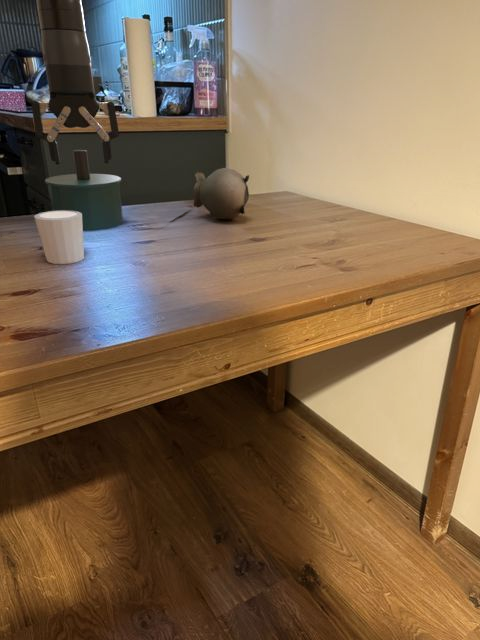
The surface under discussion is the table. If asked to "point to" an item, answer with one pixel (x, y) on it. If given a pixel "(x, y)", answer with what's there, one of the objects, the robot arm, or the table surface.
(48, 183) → the lid
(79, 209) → the pot
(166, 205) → the table surface
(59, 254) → the shot glass
